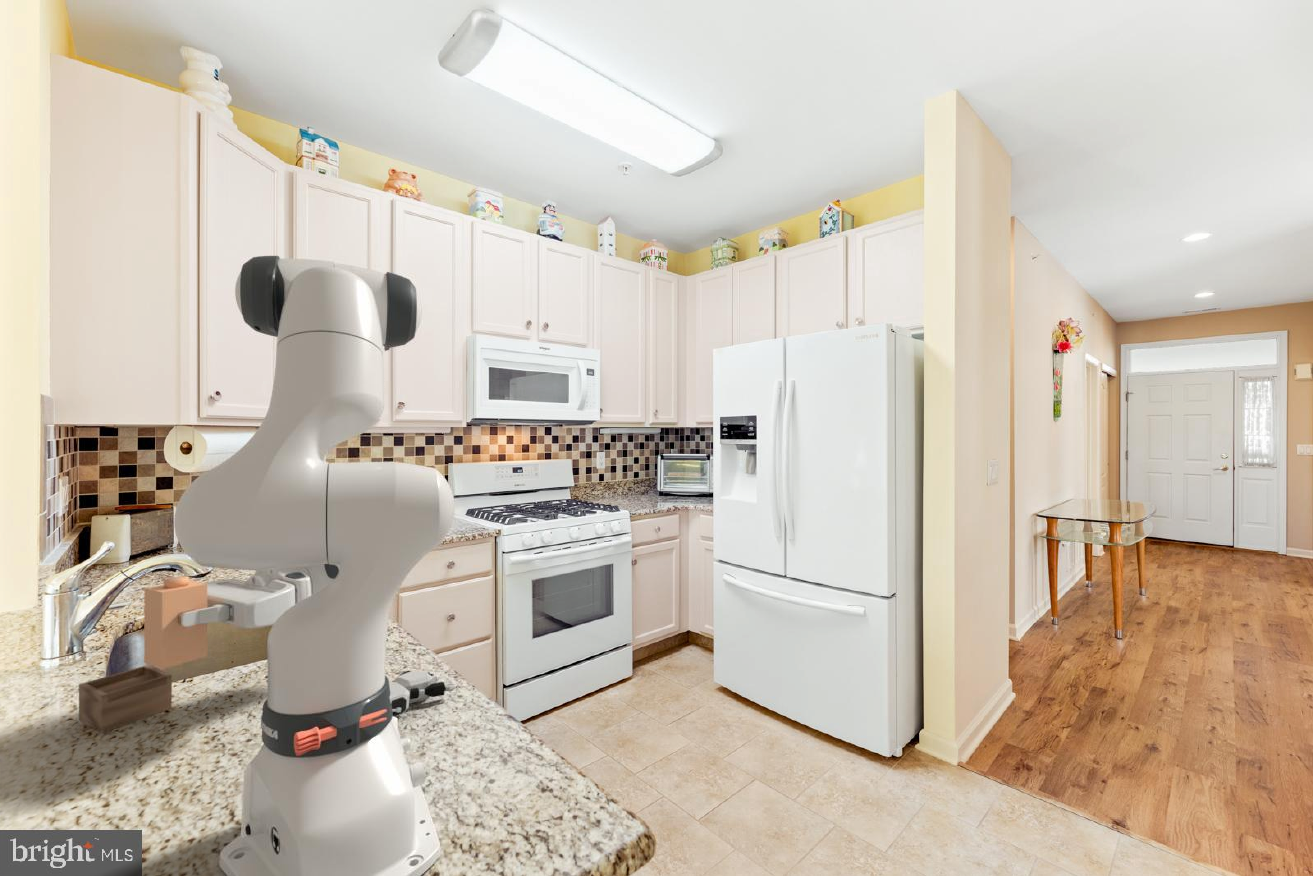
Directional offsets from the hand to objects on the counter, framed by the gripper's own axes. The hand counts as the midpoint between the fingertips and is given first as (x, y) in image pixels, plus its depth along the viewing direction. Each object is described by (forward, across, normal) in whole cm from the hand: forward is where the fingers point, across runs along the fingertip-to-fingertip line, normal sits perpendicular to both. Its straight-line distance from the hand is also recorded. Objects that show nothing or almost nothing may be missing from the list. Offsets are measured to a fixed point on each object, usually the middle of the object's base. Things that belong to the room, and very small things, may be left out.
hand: (168, 616), depth 75 cm
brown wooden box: (-2, -17, +17) cm, 24 cm away
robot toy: (-21, +17, +18) cm, 33 cm away
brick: (-1, 0, +6) cm, 6 cm away
